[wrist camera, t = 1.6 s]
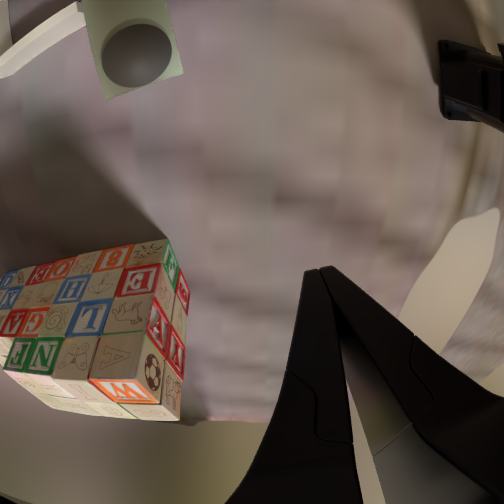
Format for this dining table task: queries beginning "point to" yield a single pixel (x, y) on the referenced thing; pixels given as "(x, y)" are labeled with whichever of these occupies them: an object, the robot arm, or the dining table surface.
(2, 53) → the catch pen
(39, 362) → the stack of blocks
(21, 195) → the dining table surface
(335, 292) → the robot arm
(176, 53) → the lever
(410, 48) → the dining table surface
